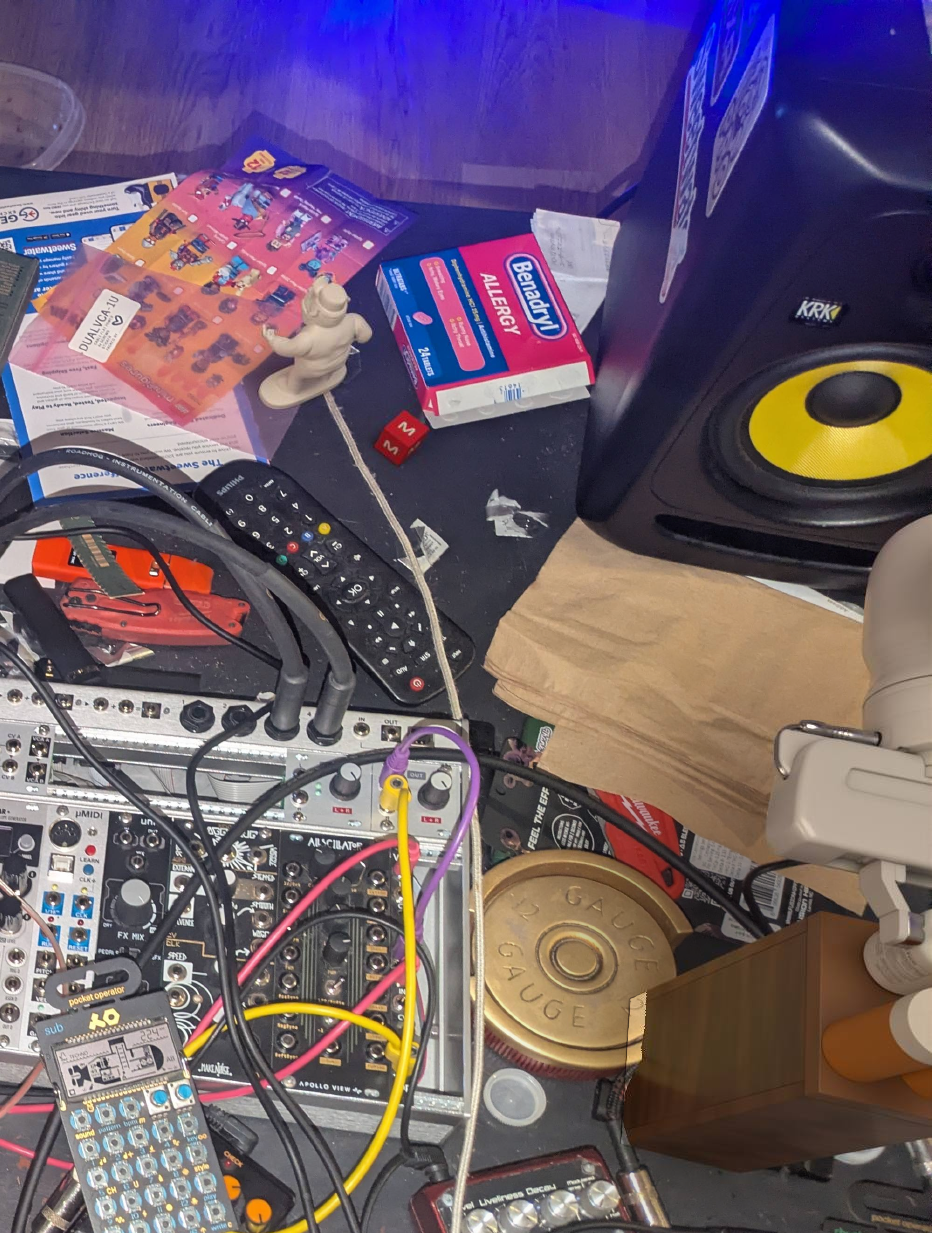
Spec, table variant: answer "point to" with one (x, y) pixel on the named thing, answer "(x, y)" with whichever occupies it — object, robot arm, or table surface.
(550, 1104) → the table surface
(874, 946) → the pill bottle
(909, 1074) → the amber bottle
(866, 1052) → the amber bottle
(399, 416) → the dice
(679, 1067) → the wooden crate
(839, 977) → the shelf
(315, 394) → the figurine
